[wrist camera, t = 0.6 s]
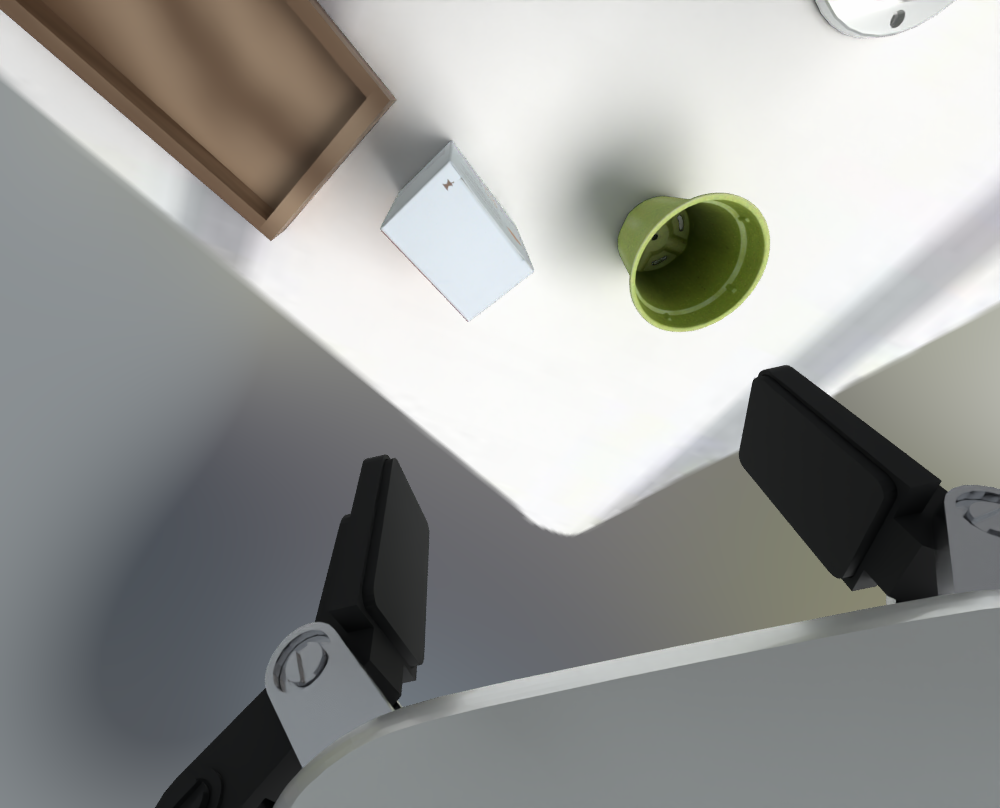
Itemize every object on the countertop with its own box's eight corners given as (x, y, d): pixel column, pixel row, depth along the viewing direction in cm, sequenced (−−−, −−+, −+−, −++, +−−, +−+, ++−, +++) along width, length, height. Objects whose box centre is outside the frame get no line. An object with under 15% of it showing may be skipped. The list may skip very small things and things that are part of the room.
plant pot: (697, 146, 32) (762, 162, 25) (718, 257, 37) (777, 295, 30) (582, 210, 34) (612, 241, 27) (618, 305, 39) (650, 352, 32)
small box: (398, 191, 32) (374, 227, 24) (452, 137, 30) (448, 155, 22) (467, 271, 36) (467, 326, 28) (518, 227, 34) (536, 272, 26)
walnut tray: (105, -262, 20) (56, -310, 17) (396, 99, 29) (390, 100, 26) (6, -17, 24) (-43, -28, 22) (284, 230, 33) (270, 240, 31)
